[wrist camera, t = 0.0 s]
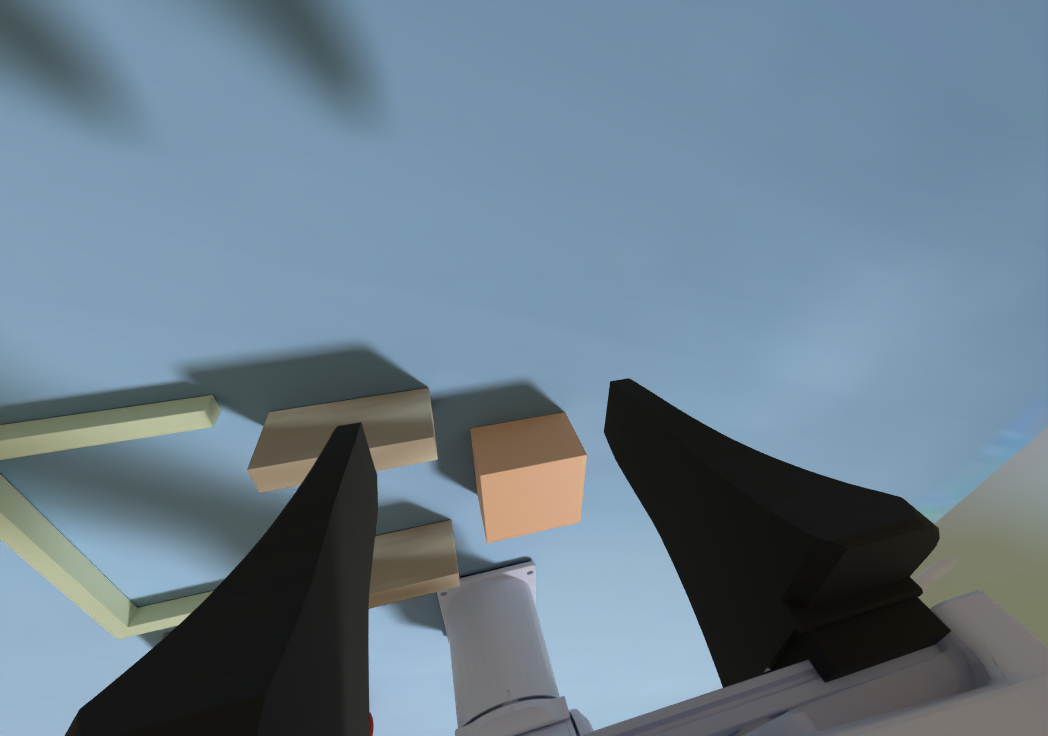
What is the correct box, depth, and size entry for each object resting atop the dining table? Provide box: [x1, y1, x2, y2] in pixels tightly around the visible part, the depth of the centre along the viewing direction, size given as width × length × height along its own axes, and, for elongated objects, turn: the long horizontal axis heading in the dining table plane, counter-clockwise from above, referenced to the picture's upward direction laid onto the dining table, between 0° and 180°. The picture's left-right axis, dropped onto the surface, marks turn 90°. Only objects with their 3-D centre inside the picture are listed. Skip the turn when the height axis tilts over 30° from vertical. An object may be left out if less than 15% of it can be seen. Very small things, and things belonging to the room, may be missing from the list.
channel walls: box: [247, 388, 460, 609], centre depth 24 cm, size 13×8×4 cm, turn 1°
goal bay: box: [0, 395, 221, 639], centre depth 23 cm, size 16×11×1 cm
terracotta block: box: [470, 412, 587, 543], centre depth 26 cm, size 6×6×4 cm
